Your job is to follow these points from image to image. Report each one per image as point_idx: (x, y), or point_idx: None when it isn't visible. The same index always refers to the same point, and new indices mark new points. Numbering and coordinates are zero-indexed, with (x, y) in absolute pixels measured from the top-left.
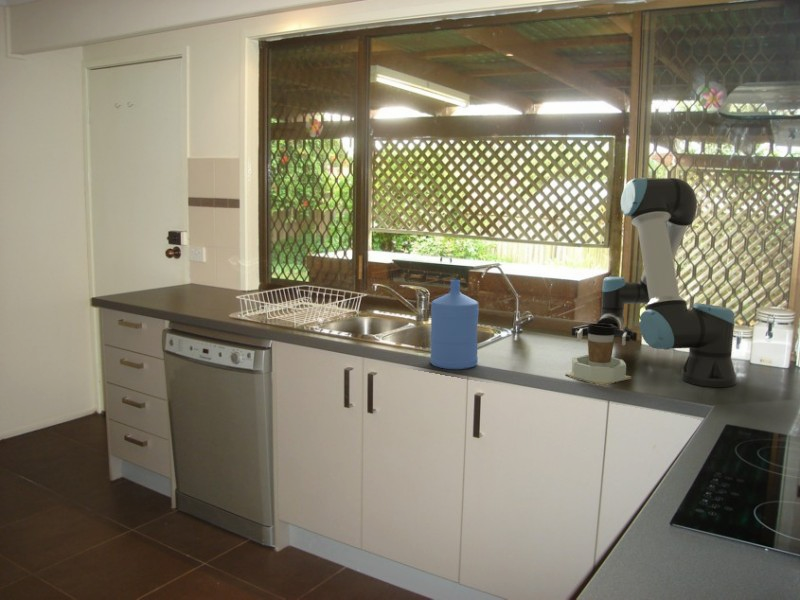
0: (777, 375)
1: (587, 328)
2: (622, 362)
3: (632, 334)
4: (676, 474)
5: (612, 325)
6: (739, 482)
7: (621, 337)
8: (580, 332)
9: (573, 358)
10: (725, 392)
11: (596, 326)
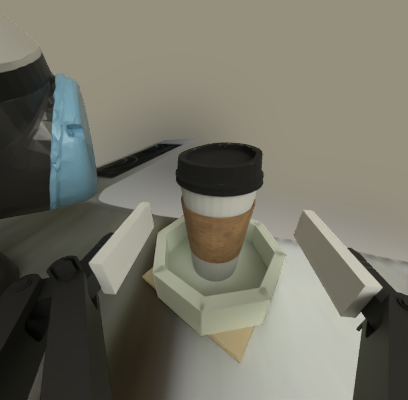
0: None
1: (387, 363)
2: (160, 247)
3: (45, 289)
4: (172, 152)
5: (183, 159)
6: (150, 152)
7: (103, 342)
8: (313, 226)
9: (280, 249)
10: (3, 243)
11: (229, 143)
